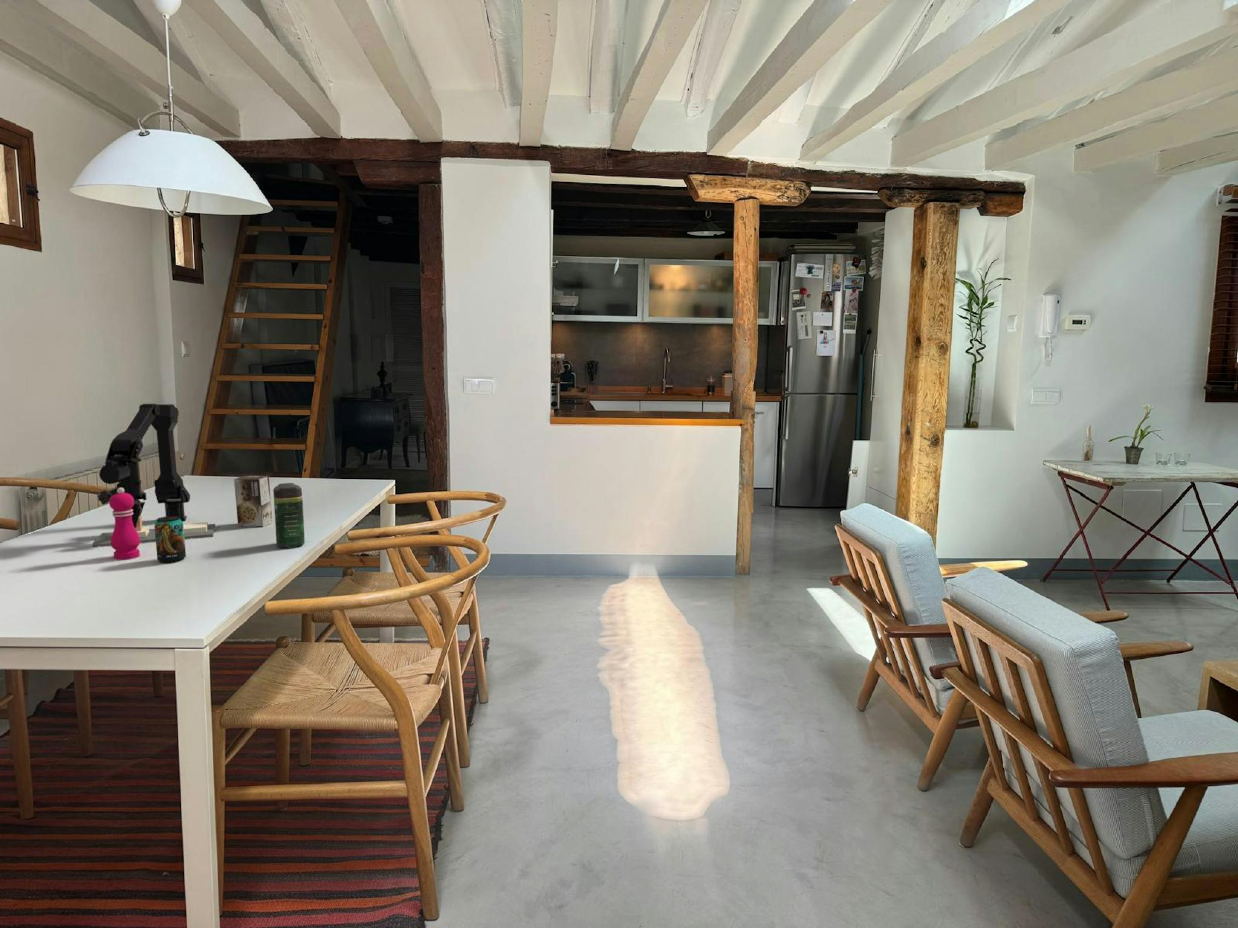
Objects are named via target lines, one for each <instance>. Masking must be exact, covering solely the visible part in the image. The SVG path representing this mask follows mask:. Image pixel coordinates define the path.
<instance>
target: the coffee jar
mask: <svg viewBox="0 0 1238 928" xmlns="http://www.w3.org/2000/svg"><path fill="white" fill-rule="evenodd" d="M302 491H303V490H302V487H301V486H299V485H298V484H296V483H294V482H284V483H279V484H277V485H275V486H274V488H273V490H272V492H273V504H274V505H273V506H274V523H275V524H274V525H275V526H274V527H275V538H276V539H275V540H276V545H277V546H278V548H288V549H291V548H296V547H299V546H300V545H301V546H303V545H304V544H305V539H306V538H305V525H304V524H305V522H304V521H305V520H304V501H303V492H302Z"/></svg>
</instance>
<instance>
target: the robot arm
mask: <svg viewBox="0 0 1238 928" xmlns="http://www.w3.org/2000/svg"><path fill="white" fill-rule="evenodd" d="M179 414H180V413H179V409H178V407H176V406H175V405H174V404H173V403H167V404H166V403H162V404H160V403H142V404H140V405H139V407H138V411H137V413H136V414H135V415H134V417H133V419H132V420H131V422H130V423H129V426H128V427H127V428H126V430H125V431H122V432H120V433H119V434H117V435H116V436H115V437H114V438H113V439H112V441H111V443H110V445H109V449H108V452H107V454H106V458H105V462H104V463H105V465H103V466H102V467H101V468H100V470H99V472H98V475H99V478H100V480H101V481H102V482H103V483H104V484H107V485H112V484H113V485H114V484H116V487H113V488H109V489H104V490H101V491H99V493H98V494H97V496H96V497H97V498H98V501H99V502H100V503H101V505H106V504H108V503H109V500H110V498H111V497H112V496H113V495H115V494H117V493H118V492H117V489H118V488H123V489H124V493H128V494H130V495H131V496H132V497H133V498H134V505H133V507H132V508H131V509H133V515H132V522H133V525H134V528H136V525H137V521H138V518H139V516H141V517H142V512H143V510H144V506H145V505H146V502H145V501H146V500H147V499H148V497H147V493H146V492H145V491H144V490H142V485H141V484H142V479H141V476H140V474H141V473H140V466H139V465H140V464H139V463H141V462H142V458H141V457H139V455H140V454H141V452H142V449H143V447H144V443H143V439H144V437H145V434H146V433H147V431H148V430H149V428H150V427H151V426H152V427H153V429H154V430H155V431H156V439H157V451H158V452H157V453H158V462H159V475H158V478H157V479H155V480H154V482H153V483H154V494H155V497H156V501H157V504H158V505H159V504H164V510H165V511H164V513H165V517H167V516H179V517H180V520H181V521H182V522H183V521H186V520H187V517H188V516H187V515H185V504H186V503H190V501H191V494H190V492H189V491H188V490H187V488H186V487H185V486H184V480H183V478H182V477H181V476H180V474H179V473H178V471H177V463H176V451H175V450H176V449H175V437H174V429H175V428H176V426H177V424H178V423H179ZM141 500H143V501H141Z"/></svg>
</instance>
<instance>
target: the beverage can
mask: <svg viewBox="0 0 1238 928" xmlns="http://www.w3.org/2000/svg"><path fill="white" fill-rule="evenodd" d="M155 520H156V522H155V524H154V526H153V527H154V528H153V529H155V539H156V542H155V549H156V559H157V561H159V562H160V563H162V564H171V563H177V562H181V561H183V560H185V558H186V557H187V552H186V539H185V538H184V526H183V524H184V522H183V521H181V520H180V517H179V516H167V517H166V516H161V517H158V518H156V519H155Z"/></svg>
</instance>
